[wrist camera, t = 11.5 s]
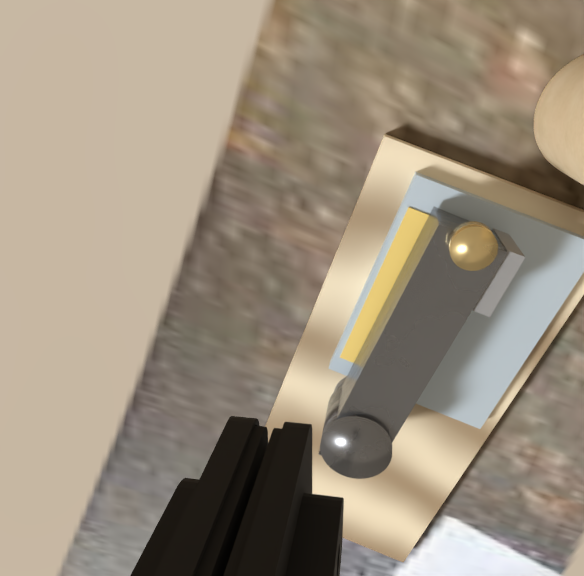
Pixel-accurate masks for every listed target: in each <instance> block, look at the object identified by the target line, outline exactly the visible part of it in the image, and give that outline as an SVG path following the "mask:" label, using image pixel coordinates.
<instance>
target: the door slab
mask: <svg viewBox="0 0 584 576" xmlns="http://www.w3.org/2000/svg"><path fill="white" fill-rule="evenodd" d="M433 207H437V208H439V209H442V210H444V211H446V212H449V213H451V214H454V215H456V216H459V217H461V218H463V219H466V220H468V221H477V222H481V223H483V224H485V225H486V226H487V227H489V229H490V230H492V231H494V232H495V233H496V235H497V237H498V238H499V240H500V241H501V243H502V245H503V246H504V248H505V250H506V251H507V254H506V255H505V257H504V259H503V260H502V262H501V264H500V265H499V267H498V269H497V270H496V272H495V274H494V275H493V277H492V279H491V280H490V282H489V284H488V285H487V287H486V288H485V290H484V292H483V293H482V295H481V297H480V298H479V300H478V302H477V303H476V305H475V307H474V308H473V310H472V312H471V313H470V315H469V317H468V318H467V320H466V322H465V323H464V325H463V326H462V328H461V330H460V331H459V333H458V335H457V336H456V338H455V340H454V341H453V343H452V345H451V346H450V348H449V350H448V351H447V353H446V355H445V356H444V358H443V360H442V361H441V363H440V364H439V366H438V368H437V369H436V371H435V373H434V374H433V376H432V378H431V379H430V381H429V383H428V384H427V386H426V388H425V389H424V391H423V393H422V394H421V396H420V398H419V399H418V401H417V402H416V404H418V405H421V406H423V407H426V408H428V409H431V410H433V411H436V412H438V413H441V414H443V415H446V416H448V417H451V418H453V419H456V420H459V421H461V422H464V423H466V424H469V425H471V426H474V427H476V428H479V429H481V427H482V426H483V424H484V423H485V421H486V420H487V418H488V417H489V415H490V413H491V412H492V410H493V409H494V407H495V406H496V404H497V403H498V401H499V400H500V398H501V397H502V395H503V394H504V392H505V391H506V389H507V388H508V386H509V385H510V383H511V382H512V380H513V379H514V377H515V376H516V374H517V373H518V371H519V369H520V368H521V366H522V365H523V363H524V362H525V360H526V359H527V357H528V356H529V354H530V353H531V351H532V350H533V348H534V347H535V345H536V344H537V342H538V341H539V339H540V338H541V336H542V335H543V333H544V332H545V330H546V329H547V327H548V325H549V324H550V322H551V321H552V319H553V318H554V316H555V315H556V313H557V312H558V310H559V309H560V307H561V306H562V304H563V303H564V301H565V300H566V298H567V297H568V295H569V294H570V292H571V291H572V289H573V288H574V286H575V285H576V283H577V281H578V280H579V278H580V277H581V275H582V274H583V272H584V236H581V235H579V234H576V233H574V232H571V231H568V230H566V229H563V228H561V227H558V226H555V225H553V224H550V223H548V222H545V221H542V220H540V219H537V218H535V217H532V216H529V215H527V214H524V213H522V212H519V211H516V210H514V209H511V208H509V207H506V206H503V205H501V204H498V203H496V202H493V201H490V200H488V199H485V198H483V197H480V196H477V195H475V194H472V193H470V192H467V191H464V190H462V189H459V188H457V187H454V186H451V185H449V184H446V183H444V182H441V181H438V180H436V179H433V178H431V177H428V176H425V175H423V174H420V173H418V172H415V174H414V176H413V178H412V180H411V183H410V185H409V187H408V189H407V192H406V194H405V196H404V198H403V200H402V203H401V205H400V207H399V209H398V212H397V214H396V216H395V218H394V220H393V223H392V225H391V227H390V229H389V232H388V234H387V236H386V238H385V240H384V243H383V245H382V247H381V249H380V252H379V254H378V256H377V258H376V260H375V263H374V265H373V267H372V269H371V272H370V274H369V276H368V278H367V280H366V283H365V285H364V287H363V289H362V292H361V294H360V296H359V298H358V300H357V303H356V305H355V307H354V309H353V312H352V314H351V316H350V318H349V320H348V323H347V325H346V327H345V329H344V332H343V334H342V336H341V338H340V340H339V343H338V345H337V347H336V349H335V351H334V354H333V356H332V358H331V360H330V364H329V369H331V370H333V371H336V372H338V373H341V374H343V375H346V376H347V375H348V373H349V371H350V369H351V367H352V365H353V363H354V361H355V359H356V357H357V355H358V354H359V352H360V350H361V348H362V346H363V344H364V342H365V340H366V338H367V336H368V334H369V332H370V330H371V328H372V326H373V324H374V322H375V320H376V318H377V316H378V314H379V312H380V310H381V308H382V307H383V305H384V303H385V301H386V299H387V297H388V295H389V293H390V291H391V289H392V287H393V285H394V283H395V281H396V279H397V277H398V275H399V273H400V271H401V269H402V267H403V265H404V263H405V262H406V260H407V258H408V256H409V254H410V252H411V250H412V248H413V246H414V244H415V242H416V240H417V238H418V236H419V234H420V232H421V230H422V228H423V226H424V224H425V222H426V220H427V218H428V217H429V215H430V213H431V211H432V209H433Z"/></svg>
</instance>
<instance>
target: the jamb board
mask: <svg viewBox="0 0 584 576" xmlns="http://www.w3.org/2000/svg"><path fill="white" fill-rule="evenodd" d="M415 172H418V173H420V174H423V175H425V176H428V177H431V178H433V179H436V180H438V181H441V182H444V183H446V184H449V185H451V186H454V187H457V188H459V189H462V190H464V191H467V192H470V193H472V194H475V195H477V196H480V197H483V198H485V199H488V200H490V201H493V202H496V203H498V204H501V205H503V206H506V207H509V208H511V209H514V210H516V211H519V212H522V213H524V214H527V215H529V216H532V217H535V218H537V219H540V220H542V221H545V222H548V223H550V224H553V225H555V226H558V227H561V228H563V229H566V230H568V231H571V232H574V233H576V234H579V235H581V236H584V210H583V209H580V208H577V207H575V206H572V205H570V204H567V203H564V202H562V201H559V200H557V199H554V198H551V197H549V196H546V195H543V194H541V193H538V192H536V191H533V190H530V189H528V188H525V187H523V186H520V185H517V184H515V183H512V182H510V181H507V180H504V179H502V178H499V177H497V176H494V175H491V174H489V173H486V172H484V171H481V170H478V169H476V168H473V167H470V166H468V165H465V164H463V163H460V162H457V161H455V160H452V159H450V158H447V157H444V156H442V155H439V154H437V153H434V152H431V151H429V150H426V149H424V148H421V147H418V146H416V145H413V144H410V143H408V142H405V141H403V140H400V139H397V138H395V137H392V136H390V135H387V134H384V137H383V139H382V142H381V144H380V147H379V149H378V152H377V154H376V156H375V159H374V161H373V164H372V166H371V169H370V171H369V174H368V176H367V178H366V181H365V183H364V186H363V188H362V191H361V193H360V196H359V198H358V201H357V203H356V205H355V208H354V210H353V213H352V215H351V218H350V220H349V223H348V225H347V227H346V230H345V232H344V235H343V237H342V240H341V242H340V245H339V247H338V249H337V252H336V254H335V257H334V259H333V262H332V264H331V267H330V269H329V271H328V274H327V276H326V279H325V281H324V284H323V286H322V289H321V291H320V293H319V296H318V298H317V301H316V303H315V306H314V308H313V311H312V313H311V315H310V318H309V320H308V323H307V325H306V328H305V330H304V333H303V335H302V337H301V340H300V342H299V345H298V347H297V350H296V352H295V355H294V357H293V359H292V362H291V364H290V367H289V369H288V372H287V374H286V377H285V379H284V381H283V384H282V386H281V389H280V391H279V394H278V396H277V399H276V401H275V403H274V406H273V408H272V411H271V413H270V416H269V418H268V421H267V423H266V425H265V427H267V430H268V442H269V439H270V437H271V434H272V431H273V429H274V428H281V429H282V427H283V424H284V422H295V423H305V424H311V425H312V494H318V495H326V496H334V497H342V498H344V510H343V536H342V538H345V539H347V540H350V541H352V542H355V543H357V544H360V545H362V546H364V547H367V548H369V549H372V550H374V551H377V552H379V553H382V554H384V555H386V556H389V557H391V558H394V559H396V560H399V561H401V562H404V560H405V559H406V557H407V556H408V554H409V553H410V552H411V550H412V549H413V547H414V546H415V544H416V543H417V541H418V540H419V538H420V537H421V535H422V534H423V532H424V531H425V529H426V528H427V526H428V525H429V523H430V522H431V520H432V519H433V517H434V516H435V514H436V513H437V511H438V510H439V508H440V507H441V506H442V504H443V503H444V501H445V500H446V498H447V497H448V495H449V494H450V492H451V491H452V489H453V488H454V486H455V485H456V483H457V482H458V480H459V479H460V477H461V476H462V474H463V473H464V471H465V470H466V468H467V467H468V465H469V464H470V462H471V461H472V460H473V458H474V457H475V455H476V454H477V452H478V451H479V449H480V448H481V446H482V445H483V443H484V442H485V440H486V439H487V437H488V436H489V434H490V433H491V431H492V430H493V428H494V427H495V425H496V424H497V422H498V421H499V419H500V418H501V416H502V415H503V414H504V412H505V411H506V409H507V408H508V406H509V405H510V403H511V402H512V400H513V399H514V397H515V396H516V394H517V393H518V391H519V390H520V388H521V387H522V385H523V384H524V382H525V381H526V379H527V378H528V376H529V375H530V373H531V372H532V370H533V369H534V368H535V366H536V365H537V363H538V362H539V360H540V359H541V357H542V356H543V354H544V353H545V351H546V350H547V348H548V347H549V345H550V344H551V342H552V341H553V339H554V338H555V336H556V335H557V333H558V332H559V330H560V329H561V327H562V326H563V324H564V323H565V322H566V320H567V319H568V317H569V316H570V314H571V313H572V311H573V310H574V308H575V307H576V305H577V304H578V302H579V301H580V299H581V298H582V296H583V295H584V272H583V274H582V275H581V277H580V278H579V280H578V281H577V283H576V285H575V286H574V288H573V289H572V291H571V292H570V294H569V295H568V297H567V298H566V300H565V301H564V303H563V304H562V306H561V307H560V309H559V310H558V312H557V313H556V315H555V316H554V318H553V319H552V321H551V322H550V324H549V325H548V327H547V329H546V330H545V332H544V333H543V335H542V336H541V338H540V339H539V341H538V342H537V344H536V345H535V347H534V348H533V350H532V351H531V353H530V354H529V356H528V357H527V359H526V360H525V362H524V363H523V365H522V366H521V368H520V369H519V371H518V373H517V374H516V376H515V377H514V379H513V380H512V382H511V383H510V385H509V386H508V388H507V389H506V391H505V392H504V394H503V395H502V397H501V398H500V400H499V401H498V403H497V404H496V406H495V407H494V409H493V410H492V412H491V413H490V415H489V417H488V418H487V420H486V421H485V423H484V424H483V426H482V427H481V429H479V428H476V427H474V426H471V425H469V424H466V423H464V422H461V421H459V420H456V419H453V418H451V417H448V416H446V415H443V414H441V413H438V412H436V411H433V410H431V409H428V408H426V407H423V406H421V405H418V404H415V406H414V407H413V409H412V411H411V412H410V414H409V416H408V417H407V419H406V421H405V422H404V424H403V426H402V427H401V429H400V431H399V432H398V434H397V435H396V437H395V439H394V440H393V442H392V459H391V462H390V464H389V465H388V467H387V468H386V469H385V470H384V471H383V472H381V473H380V474H378V475H376V476H374V477H370V478H365V479H355V478H349V477H346V476H343V475H341V474H339V473H337V472H335V471H334V470H332V469H331V468H330V467H329V466H328V465H327V464H326V462H325V461H324V459H323V457H322V456H321V455H319V454H318V453H319V448H320V443H321V437H322V432H323V427H324V422H325V417H326V412H327V407H328V402H329V399H330V397H331V395H332V394H333V392H334V390H335V387H336V385H337V384H338V382H339V381H340V380H342V379H343V378H345V377H346V375H343V374H341V373H338V372H336V371H333V370H331V369H329V364H330V360H331V358H332V356H333V354H334V351H335V349H336V347H337V345H338V343H339V340H340V338H341V336H342V334H343V332H344V329H345V327H346V325H347V323H348V320H349V318H350V316H351V314H352V312H353V309H354V307H355V305H356V303H357V300H358V298H359V296H360V294H361V292H362V289H363V287H364V285H365V283H366V280H367V278H368V276H369V274H370V272H371V269H372V267H373V265H374V263H375V260H376V258H377V256H378V254H379V252H380V249H381V247H382V245H383V243H384V240H385V238H386V236H387V234H388V232H389V229H390V227H391V225H392V223H393V220H394V218H395V216H396V214H397V212H398V209H399V207H400V205H401V203H402V200H403V198H404V196H405V194H406V192H407V189H408V187H409V185H410V183H411V180H412V178H413V176H414V174H415Z"/></svg>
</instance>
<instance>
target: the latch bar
mask: <svg viewBox="0 0 584 576" xmlns="http://www.w3.org/2000/svg"><path fill="white" fill-rule="evenodd" d="M506 254H507V251H506V250H505V248H504V246H503V245H502V243H501V241H500V240H499V238H498V237H497V235H496V233H495V232H494V231H492V230H490V229H489V227H487V226H486V225H485V224H483V223H481V222H477V221H468V220H466V219H463V218H461V217H459V216H456V215H454V214H451V213H449V212H446V211H444V210H442V209H439V208H437V207H433V209H432V211H431V213H430V215H429V217H428V218H427V220H426V222H425V224H424V226H423V228H422V230H421V232H420V234H419V236H418V238H417V240H416V242H415V244H414V246H413V248H412V250H411V252H410V254H409V256H408V258H407V260H406V262H405V263H404V265H403V267H402V269H401V271H400V273H399V275H398V277H397V279H396V281H395V283H394V285H393V287H392V289H391V291H390V293H389V295H388V297H387V299H386V301H385V303H384V305H383V307H382V308H381V310H380V312H379V314H378V316H377V318H376V320H375V322H374V324H373V326H372V328H371V330H370V332H369V334H368V336H367V338H366V340H365V342H364V344H363V346H362V348H361V350H360V352H359V354H358V355H357V357H356V359H355V361H354V363H353V365H352V367H351V369H350V371H349V373H348V375H347V377H346V379H345V381H344V383H343V385H342V386H341V387H339V388H338V389H336V390H335V391H334V392H333V394H332V395H331V397H330V399H329V402H328V407H327V412H326V417H325V422H324V427H323V432H322V437H321V443H320V448H319V453H318V454H319V455H321V456H322V457H323V459H324V461H325V462H326V464H327V465H328V466H329V467H330V468H331V469H332V470H334V471H335V472H337V473H339V474H341V475H343V476H346V477H349V478H355V479H365V478H370V477H374V476H376V475H378V474H380V473H381V472H383V471H384V470H385V469H386V468H387V467H388V465H389V464H390V462H391V459H392V442H393V440H394V439H395V437H396V435H397V434H398V432H399V431H400V429H401V427H402V426H403V424H404V422H405V421H406V419H407V417H408V416H409V414H410V412H411V411H412V409H413V407H414V406H415V404H416V402H417V401H418V399H419V398H420V396H421V394H422V393H423V391H424V389H425V388H426V386H427V384H428V383H429V381H430V379H431V378H432V376H433V374H434V373H435V371H436V369H437V368H438V366H439V364H440V363H441V361H442V360H443V358H444V356H445V355H446V353H447V351H448V350H449V348H450V346H451V345H452V343H453V341H454V340H455V338H456V336H457V335H458V333H459V331H460V330H461V328H462V326H463V325H464V323H465V322H466V320H467V318H468V317H469V315H470V313H471V312H472V310H473V308H474V307H475V305H476V303H477V302H478V300H479V298H480V297H481V295H482V293H483V292H484V290H485V288H486V287H487V285H488V284H489V282H490V280H491V279H492V277H493V275H494V274H495V272H496V270H497V269H498V267H499V265H500V264H501V262H502V260H503V259H504V257H505V255H506Z"/></svg>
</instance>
